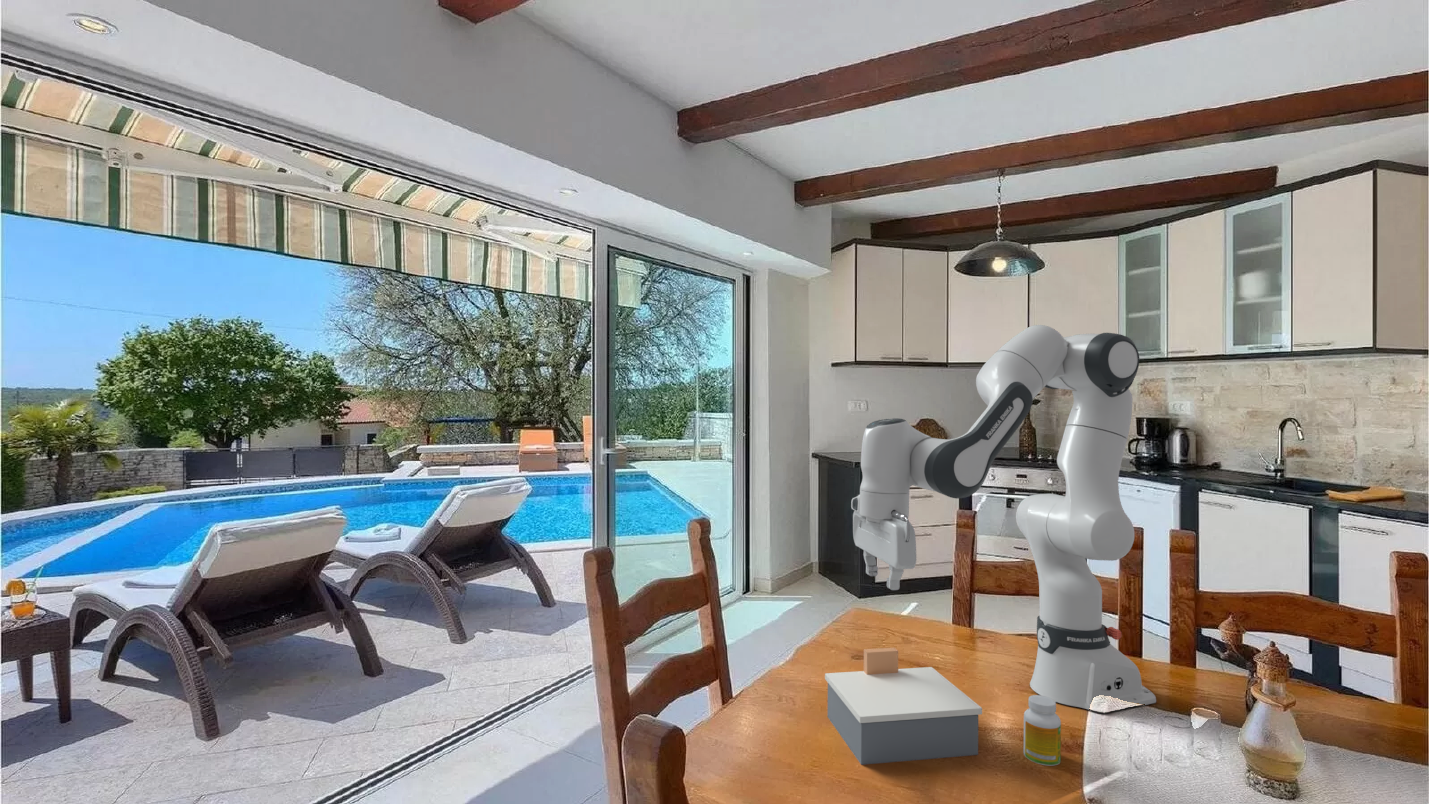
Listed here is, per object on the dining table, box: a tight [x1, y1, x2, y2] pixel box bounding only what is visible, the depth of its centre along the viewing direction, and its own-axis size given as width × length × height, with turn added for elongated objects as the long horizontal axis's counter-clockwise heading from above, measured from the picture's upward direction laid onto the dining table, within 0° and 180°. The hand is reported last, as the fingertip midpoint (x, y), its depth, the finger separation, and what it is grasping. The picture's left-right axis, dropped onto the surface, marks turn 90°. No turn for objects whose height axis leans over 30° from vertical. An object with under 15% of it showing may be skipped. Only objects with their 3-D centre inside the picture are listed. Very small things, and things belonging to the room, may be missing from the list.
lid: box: [824, 647, 983, 723], centre depth 113 cm, size 21×17×5 cm
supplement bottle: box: [1023, 694, 1062, 767], centre depth 106 cm, size 5×5×10 cm
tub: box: [827, 682, 979, 766], centre depth 113 cm, size 20×16×7 cm
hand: (881, 581), depth 121 cm, fingers open, 8 cm apart
